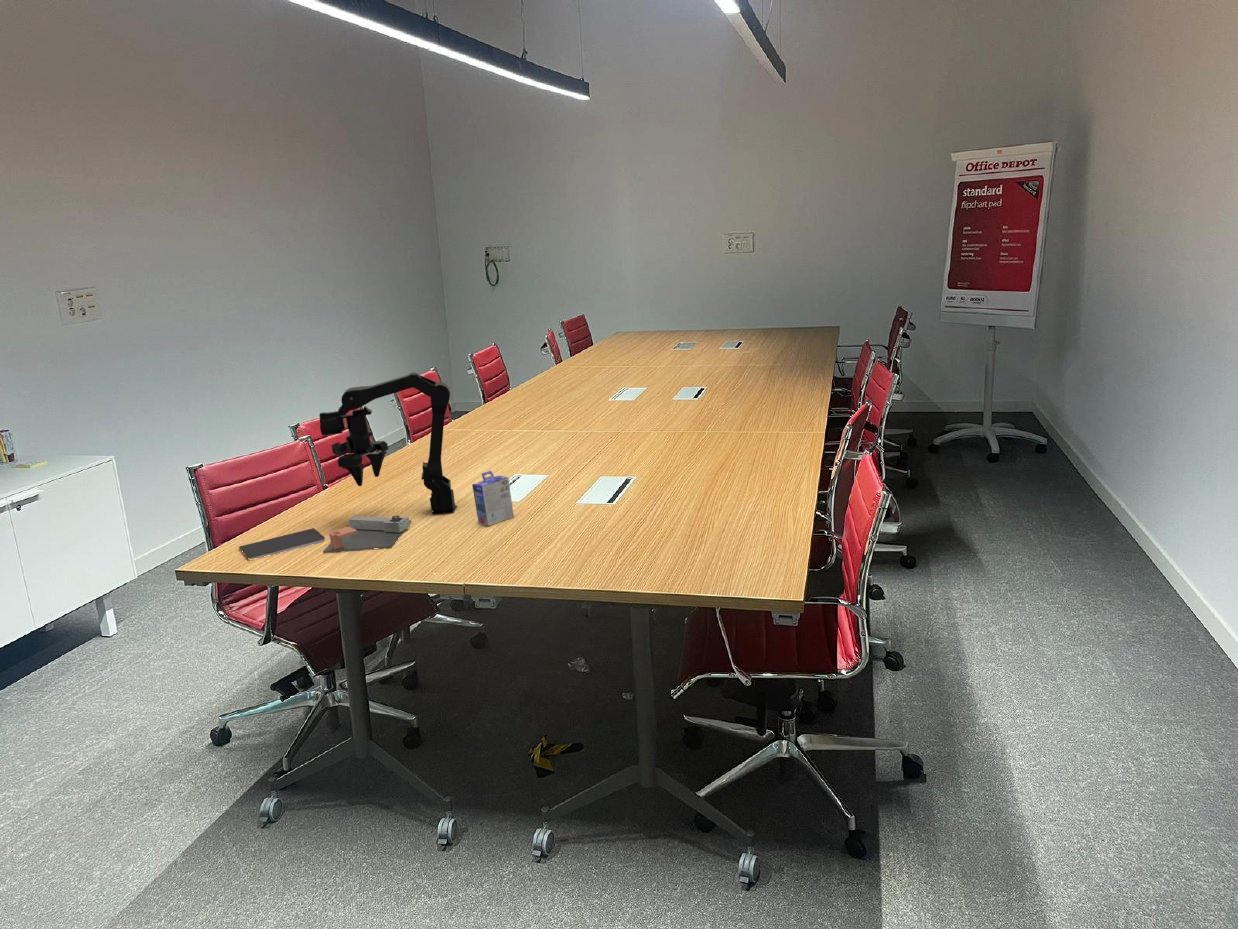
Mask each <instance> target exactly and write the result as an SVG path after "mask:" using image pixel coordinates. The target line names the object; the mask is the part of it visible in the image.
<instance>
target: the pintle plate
mask: <svg viewBox="0 0 1238 929" xmlns="http://www.w3.org/2000/svg"><path fill="white" fill-rule="evenodd" d="M399 517H400V515H397V514H396V515H393V516H391V518H392V521H393V522H398V521H400V519H399ZM409 522H410V525H411V524H412V522H413V521H412V520H411V519H409ZM348 526H349V524H348V525H347V526H346V527H348ZM355 530H357V532H358V533H356V534H353V535H349V536H346V537H342V541H343V548H340V549H337V550H334V549H333V548H332V546H331V542H330V544H328V546H326V548H324V549H323V551H322V552H323V554H327V553H326V552H331V553H339V551H345V552H355V550H358V551H365V550H364V549H372V550H375V549H374V548H386V549H392V548H393V546H394V545H396V543H397V542H398V541H399V539H400V538H401V536H402V535H403V534H404V533H405V532H406V530H407V529H405V530H403V531H401V532H400V533H399V532H385V531H383V530H365V529H355ZM399 537H400V538H399ZM398 538H399V539H398ZM396 541H397V542H396ZM395 542H396V543H395Z"/></svg>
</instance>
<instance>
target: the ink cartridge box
mask: <svg viewBox="0 0 1238 929" xmlns="http://www.w3.org/2000/svg"><path fill="white" fill-rule="evenodd" d="M486 475H490V476H486ZM481 477H482V480H481V481H478V482H475V483H472V484H471V486H472V490H473V491H472V492H473V499H474V504H475V510H476V516H477V522H478V525H479V524H480V525H483V526H486V527H489V526H492V525H495V524H498V523H500V522H502V521H506V520H509V519H512V518H514V516H515V515H514V509H513V502H512V494H511V486H510V480H509V477H507V476H503V475H494V473H493V472H492V470H489V471H486V472H482V473H481Z"/></svg>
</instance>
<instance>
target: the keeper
mask: <svg viewBox="0 0 1238 929" xmlns="http://www.w3.org/2000/svg"><path fill="white" fill-rule="evenodd" d="M347 526H348V525H347ZM347 526H345V527H342V528H339V529H335V530H332V531H331V530H330V531H329V540H330V543H331V546H332V548H333V549H334V550H337V549H340V548H343V541H342V537H346V536H349V535H353V534H356V533H358V532H357V530H355V529H353V528H351V527H349V526H348V527H347Z"/></svg>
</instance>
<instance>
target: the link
mask: <svg viewBox="0 0 1238 929" xmlns="http://www.w3.org/2000/svg"><path fill="white" fill-rule="evenodd" d="M399 519H400V521H398V522H393V521H392V516H390V517H388V516H387V517H386V516H369V515H368V516H367V515H354V516H352V517H351V518H349V519H348V525H349V527H351V528H353V529H365V530H383V531H385V532H399V533H400V532H401V531H403V530H405V529H406V530H407V529H409V528H410V527H411V524H410V522H409V520H410V518H409V517H408V516H407V517H406V516H399ZM406 530H405V531H406Z"/></svg>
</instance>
